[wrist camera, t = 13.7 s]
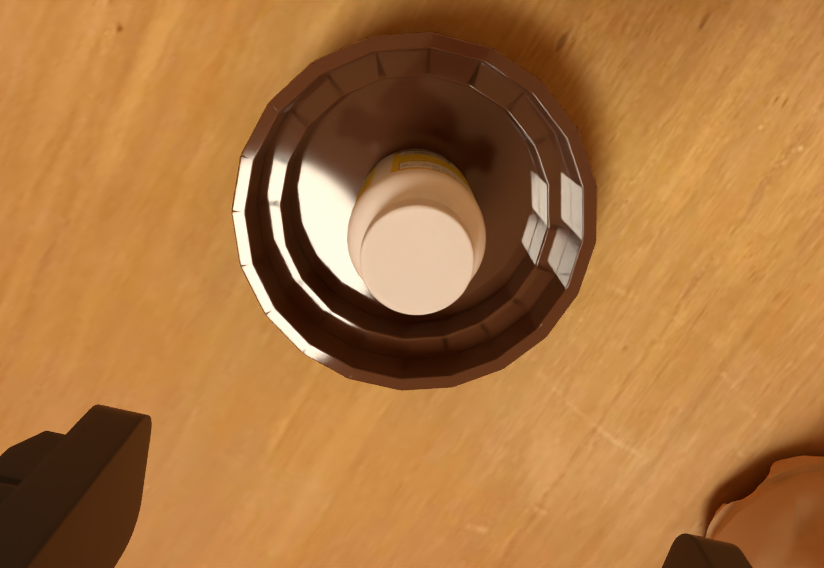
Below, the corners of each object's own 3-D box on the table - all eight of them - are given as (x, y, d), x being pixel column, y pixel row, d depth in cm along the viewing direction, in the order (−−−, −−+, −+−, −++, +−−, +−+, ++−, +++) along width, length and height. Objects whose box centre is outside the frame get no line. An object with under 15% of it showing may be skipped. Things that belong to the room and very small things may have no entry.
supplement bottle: (394, 276, 33) (385, 359, 24) (339, 181, 32) (306, 230, 23) (492, 226, 33) (521, 291, 23) (439, 126, 31) (448, 152, 22)
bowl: (291, 0, 30) (267, -12, 25) (613, 84, 31) (648, 88, 26) (237, 308, 35) (208, 347, 30) (519, 373, 36) (534, 421, 31)
